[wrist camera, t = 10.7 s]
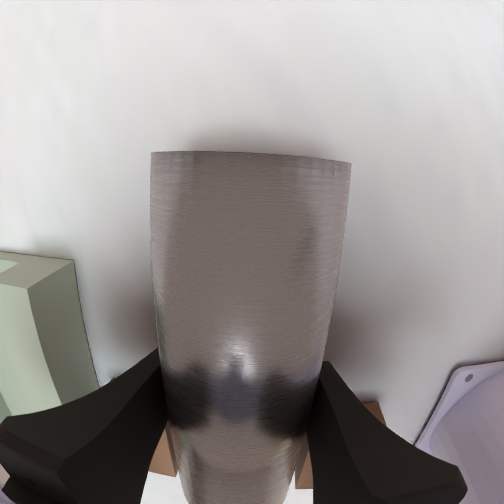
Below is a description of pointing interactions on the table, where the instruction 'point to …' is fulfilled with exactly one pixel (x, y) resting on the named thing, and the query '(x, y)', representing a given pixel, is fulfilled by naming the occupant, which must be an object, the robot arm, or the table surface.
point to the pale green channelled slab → (41, 336)
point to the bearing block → (167, 465)
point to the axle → (243, 310)
